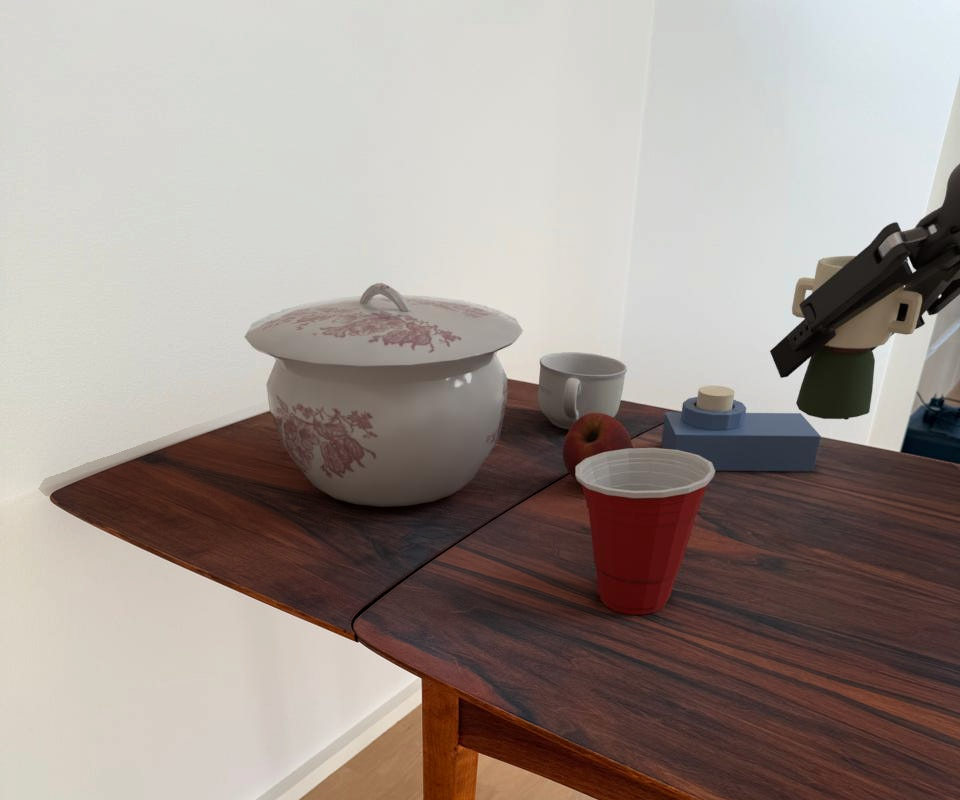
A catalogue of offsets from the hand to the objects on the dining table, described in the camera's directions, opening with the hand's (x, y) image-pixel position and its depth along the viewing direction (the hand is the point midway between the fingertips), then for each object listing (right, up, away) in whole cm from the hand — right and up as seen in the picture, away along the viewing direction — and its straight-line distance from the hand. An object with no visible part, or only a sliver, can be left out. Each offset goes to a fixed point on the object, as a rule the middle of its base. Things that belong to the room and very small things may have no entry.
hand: (812, 358), depth 80 cm
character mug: (+2, -6, 0) cm, 6 cm away
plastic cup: (-18, -22, -5) cm, 29 cm away
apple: (-18, -9, +16) cm, 26 cm away
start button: (-3, +1, +21) cm, 21 cm away
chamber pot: (-40, -9, +17) cm, 44 cm away
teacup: (-18, +1, +32) cm, 37 cm away
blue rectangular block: (-1, -4, +23) cm, 23 cm away
